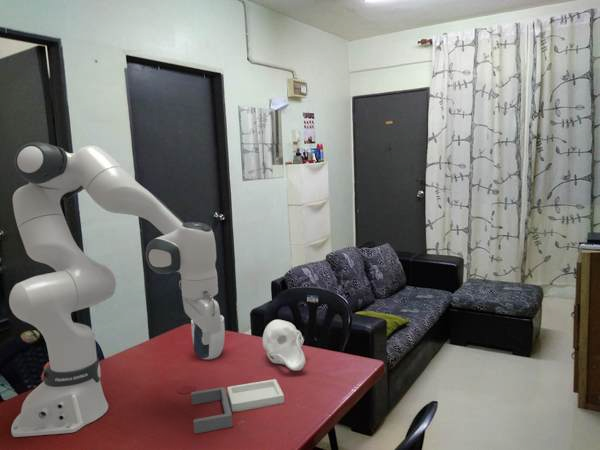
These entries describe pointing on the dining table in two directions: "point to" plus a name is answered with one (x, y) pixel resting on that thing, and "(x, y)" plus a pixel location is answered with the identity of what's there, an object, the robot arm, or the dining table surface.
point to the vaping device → (200, 343)
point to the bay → (212, 421)
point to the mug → (214, 341)
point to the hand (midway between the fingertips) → (202, 340)
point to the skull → (284, 344)
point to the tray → (255, 395)
